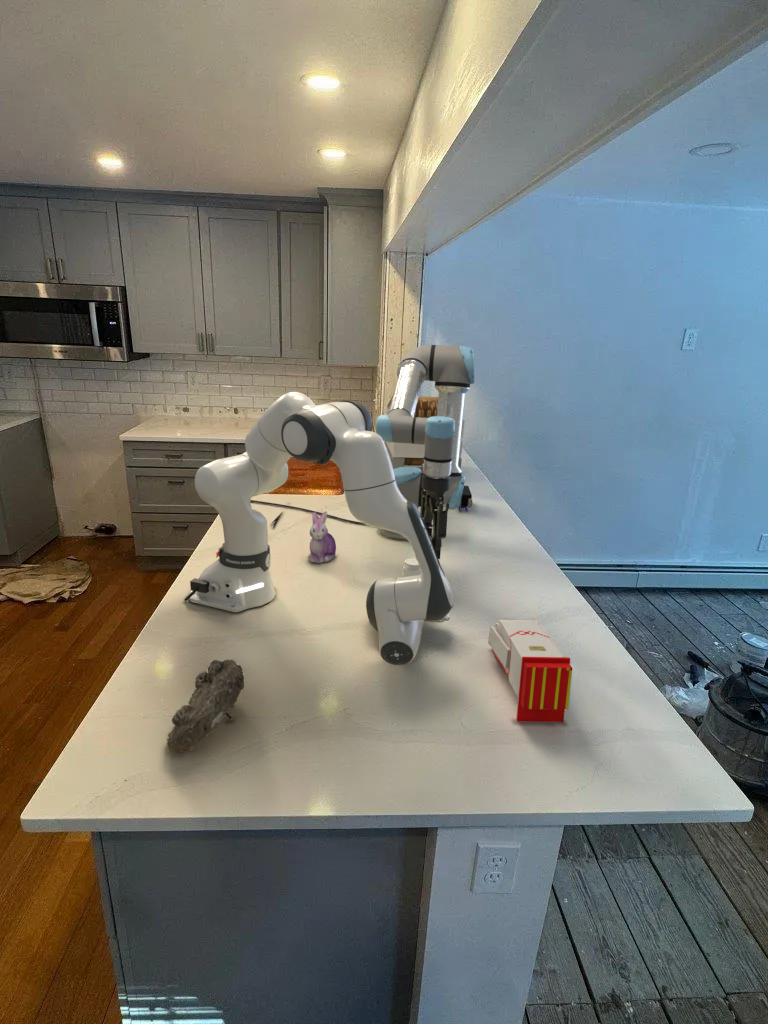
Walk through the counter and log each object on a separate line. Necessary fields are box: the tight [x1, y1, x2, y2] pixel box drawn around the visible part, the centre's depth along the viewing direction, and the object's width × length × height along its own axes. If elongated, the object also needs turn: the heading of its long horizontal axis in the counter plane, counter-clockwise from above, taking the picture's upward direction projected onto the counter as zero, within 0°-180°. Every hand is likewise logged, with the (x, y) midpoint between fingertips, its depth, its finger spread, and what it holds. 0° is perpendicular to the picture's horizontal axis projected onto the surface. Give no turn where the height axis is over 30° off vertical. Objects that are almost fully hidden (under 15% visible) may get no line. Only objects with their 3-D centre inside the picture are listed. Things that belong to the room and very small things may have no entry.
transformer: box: [384, 395, 465, 470], centre depth 268 cm, size 34×33×41 cm
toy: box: [488, 619, 573, 723], centre depth 122 cm, size 12×13×30 cm
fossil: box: [166, 658, 245, 754], centre depth 106 cm, size 22×10×15 cm
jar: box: [401, 557, 422, 577], centre depth 145 cm, size 5×5×15 cm
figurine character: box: [457, 485, 473, 512], centre depth 229 cm, size 7×8×15 cm
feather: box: [270, 512, 283, 529], centre depth 212 cm, size 2×28×2 cm
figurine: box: [309, 510, 337, 564], centre depth 176 cm, size 9×10×15 cm
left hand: (411, 589), depth 146 cm, fingers closed on jar, 5 cm apart
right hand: (430, 554), depth 160 cm, fingers closed on lid, 6 cm apart
